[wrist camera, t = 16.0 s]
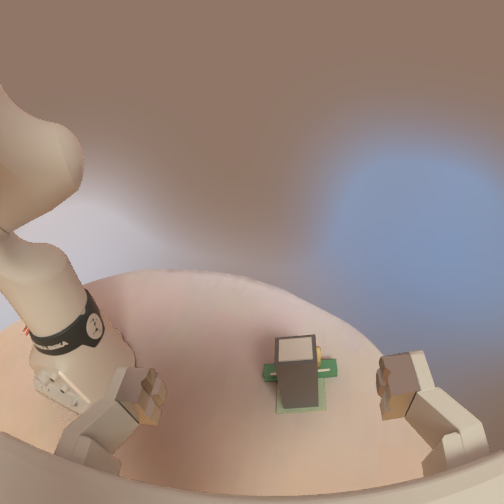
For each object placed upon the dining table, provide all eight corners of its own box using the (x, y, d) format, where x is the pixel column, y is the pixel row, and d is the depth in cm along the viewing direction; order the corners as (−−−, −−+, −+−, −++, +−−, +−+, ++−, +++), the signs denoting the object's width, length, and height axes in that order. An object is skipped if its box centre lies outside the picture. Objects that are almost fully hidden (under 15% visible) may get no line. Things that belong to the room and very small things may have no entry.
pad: (276, 413, 36) (276, 413, 36) (277, 381, 41) (277, 380, 41) (326, 410, 35) (326, 409, 35) (324, 378, 40) (324, 377, 40)
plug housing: (283, 408, 37) (274, 364, 31) (284, 384, 40) (275, 336, 35) (318, 406, 36) (317, 361, 30) (317, 381, 39) (315, 333, 34)
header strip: (264, 381, 41) (258, 358, 38) (265, 370, 43) (259, 346, 40) (336, 376, 39) (337, 352, 37) (335, 364, 41) (336, 340, 38)
